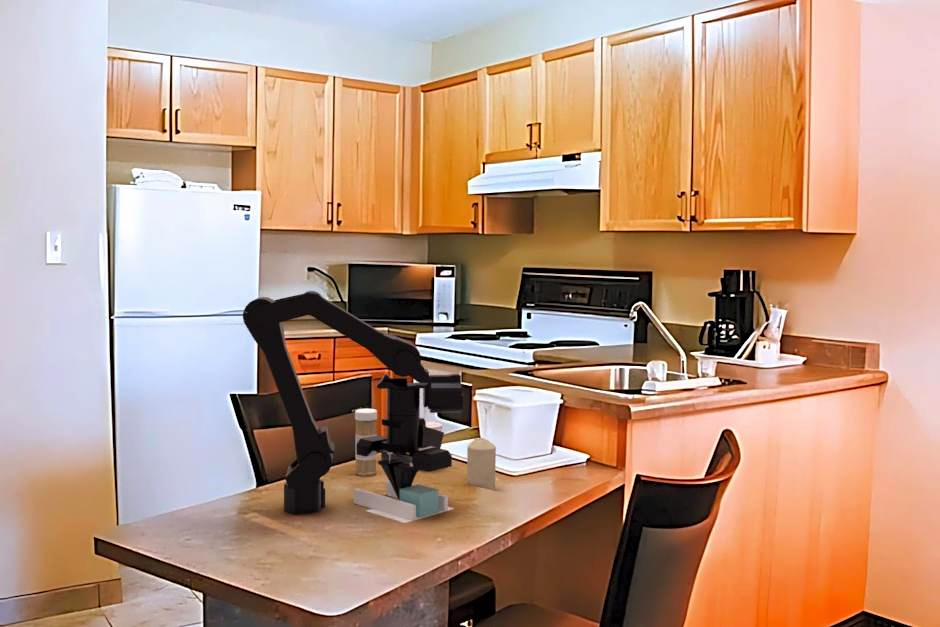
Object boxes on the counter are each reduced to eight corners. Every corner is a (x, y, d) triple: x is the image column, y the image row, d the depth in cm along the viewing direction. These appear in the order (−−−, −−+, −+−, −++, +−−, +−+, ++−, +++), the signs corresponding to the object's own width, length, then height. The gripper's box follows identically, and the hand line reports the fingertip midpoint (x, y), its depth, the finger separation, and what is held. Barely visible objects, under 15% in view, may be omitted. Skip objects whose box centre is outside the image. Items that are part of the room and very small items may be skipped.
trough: (404, 531, 152) (404, 508, 152) (346, 513, 162) (346, 490, 162) (454, 516, 161) (454, 494, 160) (396, 500, 171) (396, 478, 170)
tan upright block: (499, 491, 178) (500, 441, 177) (473, 494, 176) (473, 442, 175) (488, 484, 183) (489, 435, 182) (462, 487, 181) (463, 437, 180)
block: (419, 517, 155) (420, 494, 154) (399, 511, 158) (399, 489, 158) (438, 512, 158) (438, 489, 158) (418, 506, 161) (418, 484, 161)
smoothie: (408, 466, 197) (409, 402, 196) (437, 464, 199) (438, 401, 198) (416, 473, 191) (416, 407, 190) (445, 471, 193) (446, 406, 192)
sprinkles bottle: (369, 470, 193) (369, 407, 192) (381, 474, 190) (381, 410, 189) (350, 473, 190) (350, 409, 190) (362, 477, 187) (362, 412, 186)
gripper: (473, 414, 159) (472, 502, 161) (399, 401, 172) (399, 482, 173) (428, 423, 151) (428, 515, 152) (354, 408, 164) (354, 494, 165)
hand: (402, 500), depth 161 cm, fingers closed
